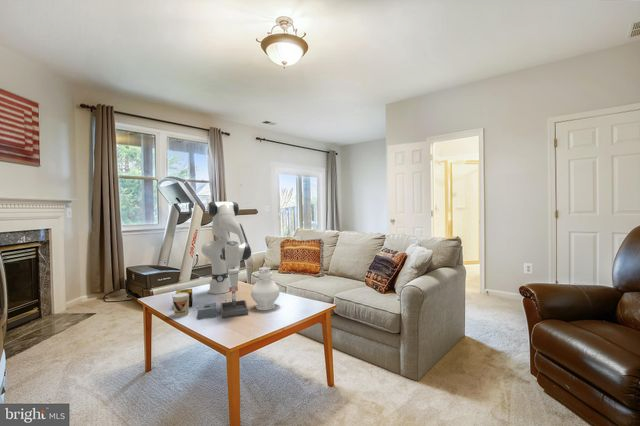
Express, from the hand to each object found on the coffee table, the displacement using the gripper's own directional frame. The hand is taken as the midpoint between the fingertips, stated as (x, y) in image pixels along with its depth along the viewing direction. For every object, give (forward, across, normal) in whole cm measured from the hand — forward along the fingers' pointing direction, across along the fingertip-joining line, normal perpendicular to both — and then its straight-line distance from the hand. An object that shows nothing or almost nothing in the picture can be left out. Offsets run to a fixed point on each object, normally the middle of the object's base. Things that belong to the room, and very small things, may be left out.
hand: (233, 290), depth 188 cm
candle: (+14, -24, -30) cm, 41 cm away
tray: (+13, 0, 0) cm, 13 cm away
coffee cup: (+13, -7, -30) cm, 34 cm away
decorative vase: (+13, -1, +20) cm, 24 cm away
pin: (+10, 0, 0) cm, 10 cm away
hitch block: (+13, 0, -16) cm, 20 cm away
